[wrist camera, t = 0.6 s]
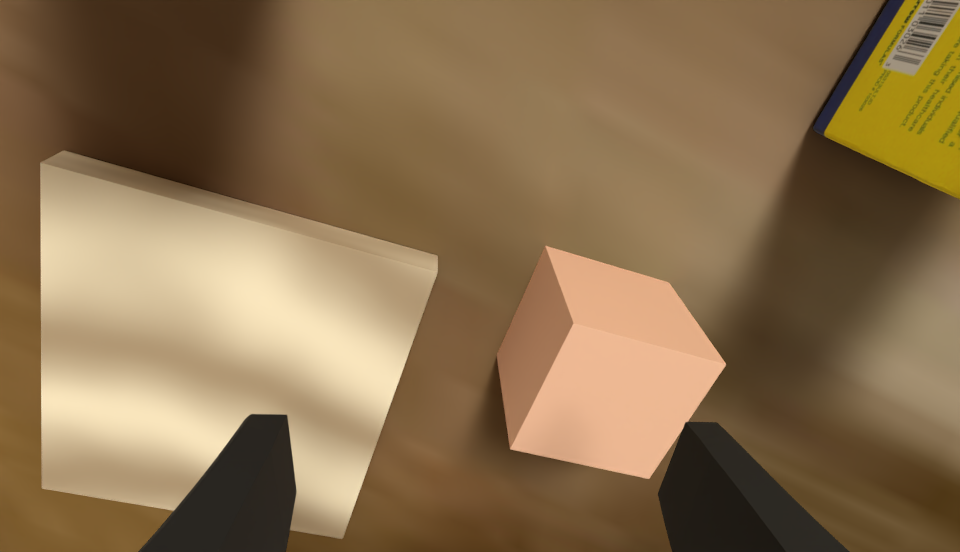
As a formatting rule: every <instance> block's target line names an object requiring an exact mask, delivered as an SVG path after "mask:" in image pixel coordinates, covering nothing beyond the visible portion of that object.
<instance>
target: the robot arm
mask: <svg viewBox="0 0 960 552" xmlns="http://www.w3.org/2000/svg"><path fill="white" fill-rule="evenodd" d="M296 493H297V490H296V482H295V474H294V466H293V457H292V449H291V441H290V433H289V424H288V416H287V415H282V414H251V415H249V416H248V417H247V418H245V420H244V421H243V422H242V424H241V425H240V427H239V428H238V429H237V431H236V432H235V434H234V435H233V436H232V438H231V439H230V440H229V442H228V443H227V444H226V446H225V447H224V448H223V450H222V451H221V452H220V454H219V455H218V456H217V458H216V459H215V460H214V462H213V463H212V464H211V466H210V467H209V468H208V469H207V471H206V472H205V473H204V474H203V476H202V477H201V478H200V480H199V481H198V482H197V483H196V485H195V486H194V487H193V488H192V489H191V491H190V492H189V493H188V494H187V496H186V497H185V498H184V499H183V500H182V502H181V503H180V504H179V505H178V506H177V508H176V509H175V510H174V511H173V512H172V514H171V515H170V516H169V517H168V518H167V520H166V521H165V522H164V523H163V524H162V526H161V527H160V528H159V529H158V530H157V531H156V533H155V534H154V535H153V536H152V537H151V538H150V539H149V540H148V541H147V543H146V544H145V545H144V546H143V547H142V548H141V549H140V550H139V551H138V552H286V548H287V542H288V537H289V532H290V527H291V521H292V515H293V510H294V504H295V498H296ZM658 496H659V501H660V505H661V509H662V514H663V518H664V522H665V526H666V530H667V534H668V538H669V541H670V545H671V549H672V552H849V551H848V550H847V549H846V548H845V547H844V546H843V545H842V544H840V543H839V542H838V541H837V540H836V539H835V538H834V537H833V536H832V535H831V534H830V533H829V532H828V531H827V530H825V529H824V528H823V527H822V526H821V525H820V524H819V523H818V522H817V521H816V520H815V519H814V518H813V517H812V516H811V515H810V514H809V513H808V512H807V511H806V510H805V509H804V508H803V507H802V506H800V505H799V504H798V503H797V502H796V501H795V500H794V499H793V498H792V497H791V496H790V495H789V494H788V493H787V492H786V491H785V490H784V489H783V488H782V487H781V486H780V485H779V484H778V483H777V482H776V481H775V480H774V479H773V478H772V477H771V476H770V475H769V474H768V473H767V472H766V471H765V470H764V469H763V468H762V467H761V466H760V465H759V464H758V463H757V462H756V461H755V460H754V459H753V458H752V457H751V456H750V455H749V454H748V453H747V452H746V451H745V450H744V449H743V448H742V447H741V446H740V445H739V444H738V443H737V442H736V441H735V440H734V439H733V438H732V437H731V436H730V435H729V434H728V433H727V432H726V431H725V430H724V429H723V428H722V427H721V426H720V425H719V424H718V423H715V422H685V425H684V427H683V430H682V432H681V435H680V438H679V440H678V443H677V445H676V448H675V451H674V453H673V456H672V458H671V461H670V464H669V466H668V469H667V471H666V474H665V477H664V479H663V482H662V484H661V487H660V490H659V492H658Z"/></svg>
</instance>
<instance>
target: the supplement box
mask: <svg viewBox="0 0 960 552" xmlns="http://www.w3.org/2000/svg"><path fill="white" fill-rule="evenodd" d="M813 130H814V131H815V132H816V133H818V134H820V135H822V136H825V137H827V138H829V139H831V140H833V141H835V142H837V143H840V144H842V145H844V146H846V147H848V148H850V149H852V150H854V151H857V152H859V153H861V154H863V155H865V156H867V157H869V158H872V159H874V160H876V161H878V162H881V163H883V164H885V165H887V166H889V167H891V168H893V169H896V170H898V171H900V172H902V173H904V174H907V175H909V176H911V177H913V178H915V179H917V180H919V181H921V182H923V183H925V184H927V185H929V186H931V187H934V188H936V189H938V190H940V191H942V192H945V193H947V194H949V195H951V196H953V197H956V198H958V199H960V0H889V1H888V3H887V4H886V6H885V7H884V9H883V11H882V12H881V14H880V16H879V18H878V19H877V21H876V23H875V24H874V26H873V28H872V29H871V31H870V33H869V34H868V36H867V38H866V39H865V41H864V43H863V44H862V46H861V48H860V49H859V51H858V53H857V54H856V56H855V58H854V59H853V61H852V63H851V64H850V66H849V68H848V69H847V71H846V73H845V74H844V76H843V78H842V79H841V81H840V82H839V84H838V86H837V87H836V89H835V91H834V92H833V94H832V96H831V98H830V99H829V101H828V103H827V104H826V106H825V108H824V109H823V111H822V113H821V114H820V116H819V117H818V119H817V121H816V123H815V125H814V127H813Z"/></svg>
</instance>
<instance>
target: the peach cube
mask: <svg viewBox="0 0 960 552" xmlns="http://www.w3.org/2000/svg"><path fill="white" fill-rule="evenodd" d="M497 361H498V368H499V375H500V382H501V389H502V396H503V403H504V410H505V417H506V424H507V431H508V438H509V445H510V449H511V450H516V451H521V452H525V453H530V454H535V455H539V456H544V457H549V458H553V459H558V460H563V461H568V462H572V463H577V464H582V465H586V466H591V467H596V468H600V469H605V470H610V471H614V472H619V473H624V474H628V475H633V476H638V477H643V478H647V479H649V478H650V477H651V475H652V474H653V472H654V471H655V469H656V468H657V466H658V465H659V463H660V462H661V460H662V459H663V457H664V456H665V454H666V453H667V451H668V450H669V448H670V447H671V445H672V444H673V443H674V441H675V440H676V438H677V437H678V435H679V434H680V432H681V431H682V429H683V427H684V425H685V422H688V420H689V419H690V417H691V416H692V414H693V413H694V411H695V410H696V408H697V407H698V406H699V404H700V403H701V401H702V400H703V398H704V397H705V395H706V394H707V392H708V391H709V389H710V388H711V386H712V385H713V383H714V382H715V380H716V379H717V377H718V376H719V374H720V373H721V371H722V370H723V369H724V367H725V366H726V363H725V362H724V360H723V359H722V357H721V356H720V355H719V353H718V352H717V350H716V349H715V348H714V346H713V345H712V343H711V342H710V340H709V339H708V338H707V336H706V335H705V333H704V332H703V330H702V329H701V328H700V326H699V325H698V323H697V322H696V320H695V319H694V318H693V316H692V315H691V313H690V312H689V311H688V309H687V308H686V306H685V305H684V303H683V302H682V301H681V299H680V298H679V296H678V295H677V293H676V292H675V291H674V289H673V288H672V286H671V285H670V283H669V282H665V281H662V280H658V279H655V278H652V277H648V276H645V275H642V274H638V273H635V272H632V271H628V270H625V269H622V268H618V267H615V266H612V265H608V264H605V263H601V262H598V261H595V260H591V259H588V258H585V257H581V256H578V255H575V254H571V253H568V252H565V251H561V250H558V249H554V248H551V247H548V246H545V248H544V250H543V252H542V254H541V257H540V259H539V261H538V263H537V266H536V268H535V270H534V272H533V275H532V277H531V279H530V281H529V284H528V286H527V288H526V290H525V293H524V295H523V297H522V299H521V302H520V304H519V306H518V308H517V311H516V313H515V315H514V317H513V320H512V322H511V324H510V326H509V329H508V331H507V333H506V335H505V338H504V340H503V342H502V344H501V347H500V349H499V351H498V353H497Z"/></svg>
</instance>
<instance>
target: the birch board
mask: <svg viewBox="0 0 960 552" xmlns="http://www.w3.org/2000/svg"><path fill="white" fill-rule="evenodd" d="M40 177H41V409H42V488H43V489H49V490H55V491H61V492H66V493H72V494H78V495H84V496H90V497H96V498H102V499H108V500H114V501H120V502H126V503H132V504H138V505H144V506H150V507H156V508H162V509H168V510H175V509H176V508H177V506H178V505H179V504H180V503H181V502H182V500H183V499H184V498H185V497H186V496H187V494H188V493H189V492H190V491H191V489H192V488H193V487H194V486H195V485H196V483H197V482H198V481H199V480H200V478H201V477H202V476H203V474H204V473H205V472H206V471H207V469H208V468H209V467H210V466H211V464H212V463H213V462H214V460H215V459H216V458H217V456H218V455H219V454H220V452H221V451H222V450H223V448H224V447H225V446H226V444H227V443H228V442H229V440H230V439H231V438H232V436H233V435H234V434H235V432H236V431H237V429H238V428H239V427H240V425H241V424H242V422H243V421H244V420H245V418H247V417H248V416H249V415H251V414H282V415H287V416H288V424H289V433H290V441H291V449H292V457H293V466H294V474H295V482H296V490H297V493H296V498H295V504H294V510H293V515H292V521H291V527H290V530H293V531H299V532H305V533H310V534H316V535H322V536H328V537H334V538H340V539H343V536H344V533H345V530H346V528H347V525H348V522H349V519H350V516H351V514H352V511H353V508H354V505H355V502H356V500H357V497H358V494H359V491H360V488H361V486H362V483H363V480H364V477H365V474H366V472H367V469H368V466H369V463H370V460H371V458H372V455H373V452H374V449H375V446H376V444H377V441H378V438H379V435H380V432H381V430H382V427H383V424H384V421H385V418H386V416H387V413H388V410H389V407H390V404H391V401H392V399H393V396H394V393H395V390H396V387H397V385H398V382H399V379H400V376H401V373H402V371H403V368H404V365H405V362H406V359H407V357H408V354H409V351H410V348H411V345H412V343H413V340H414V337H415V334H416V331H417V329H418V326H419V323H420V320H421V317H422V315H423V312H424V309H425V306H426V303H427V301H428V298H429V295H430V292H431V289H432V287H433V284H434V281H435V278H436V275H437V273H438V256H437V255H433V254H430V253H426V252H423V251H419V250H416V249H412V248H408V247H405V246H401V245H398V244H394V243H391V242H387V241H384V240H380V239H377V238H373V237H369V236H366V235H362V234H359V233H355V232H352V231H348V230H345V229H341V228H338V227H334V226H330V225H327V224H323V223H320V222H316V221H313V220H309V219H306V218H302V217H299V216H295V215H291V214H288V213H284V212H281V211H277V210H274V209H270V208H267V207H263V206H259V205H256V204H252V203H249V202H245V201H242V200H238V199H235V198H231V197H228V196H224V195H220V194H217V193H213V192H210V191H206V190H203V189H199V188H196V187H192V186H189V185H185V184H181V183H178V182H174V181H171V180H167V179H164V178H160V177H157V176H153V175H150V174H146V173H142V172H139V171H135V170H132V169H128V168H125V167H121V166H118V165H114V164H111V163H107V162H103V161H100V160H96V159H93V158H89V157H86V156H82V155H79V154H75V153H72V152H68V151H62V152H60V153H58V154H56V155H54V156H52V157H50V158H48V159H46V160H44V161H43V162H41V163H40Z"/></svg>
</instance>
